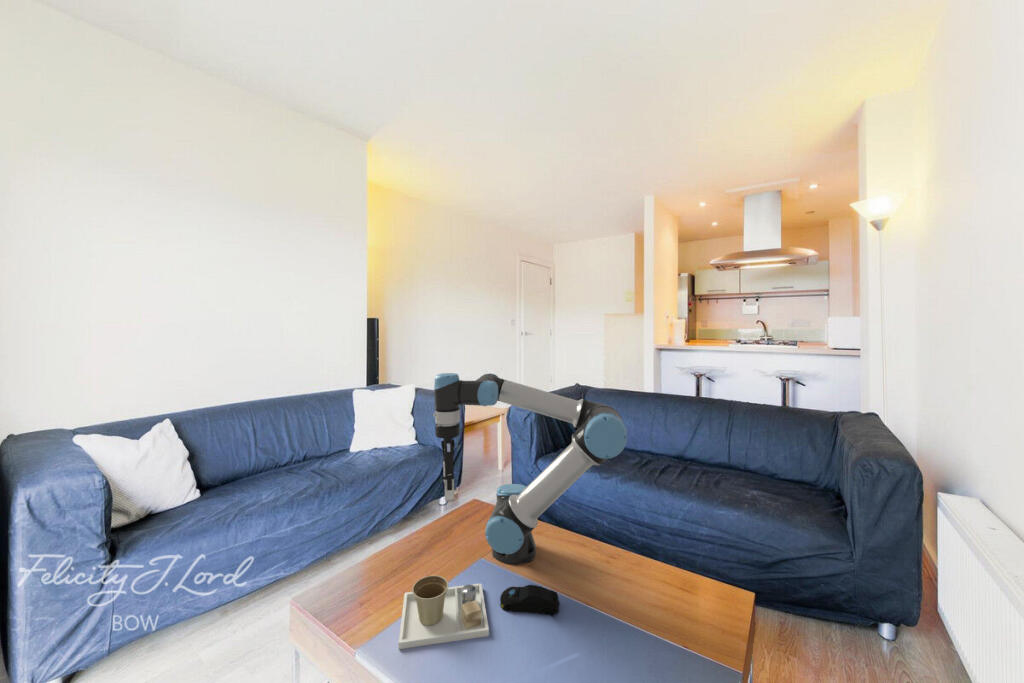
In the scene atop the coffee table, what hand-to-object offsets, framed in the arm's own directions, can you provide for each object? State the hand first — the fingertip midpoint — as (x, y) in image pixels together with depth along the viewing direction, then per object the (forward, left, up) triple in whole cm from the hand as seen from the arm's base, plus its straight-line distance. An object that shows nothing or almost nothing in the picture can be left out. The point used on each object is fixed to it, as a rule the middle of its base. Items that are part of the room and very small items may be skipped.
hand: (448, 490), depth 126 cm
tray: (+2, +20, -27) cm, 33 cm away
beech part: (-5, +23, -26) cm, 35 cm away
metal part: (-5, +16, -26) cm, 31 cm away
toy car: (-21, +19, -27) cm, 40 cm away
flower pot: (+6, +20, -26) cm, 33 cm away
